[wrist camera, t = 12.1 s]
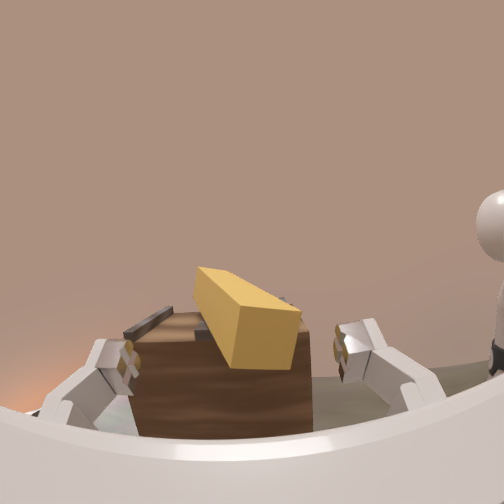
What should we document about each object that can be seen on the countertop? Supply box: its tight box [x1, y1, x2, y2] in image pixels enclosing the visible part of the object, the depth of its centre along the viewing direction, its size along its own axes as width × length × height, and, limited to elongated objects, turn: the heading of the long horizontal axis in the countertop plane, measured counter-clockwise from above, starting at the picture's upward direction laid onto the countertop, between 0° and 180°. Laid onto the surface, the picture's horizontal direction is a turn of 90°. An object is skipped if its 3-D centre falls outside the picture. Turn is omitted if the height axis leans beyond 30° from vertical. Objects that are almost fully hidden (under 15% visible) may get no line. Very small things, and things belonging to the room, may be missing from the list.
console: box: [121, 297, 313, 440], centre depth 33 cm, size 14×19×27 cm
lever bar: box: [193, 267, 302, 370], centre depth 28 cm, size 22×4×4 cm, turn 16°
